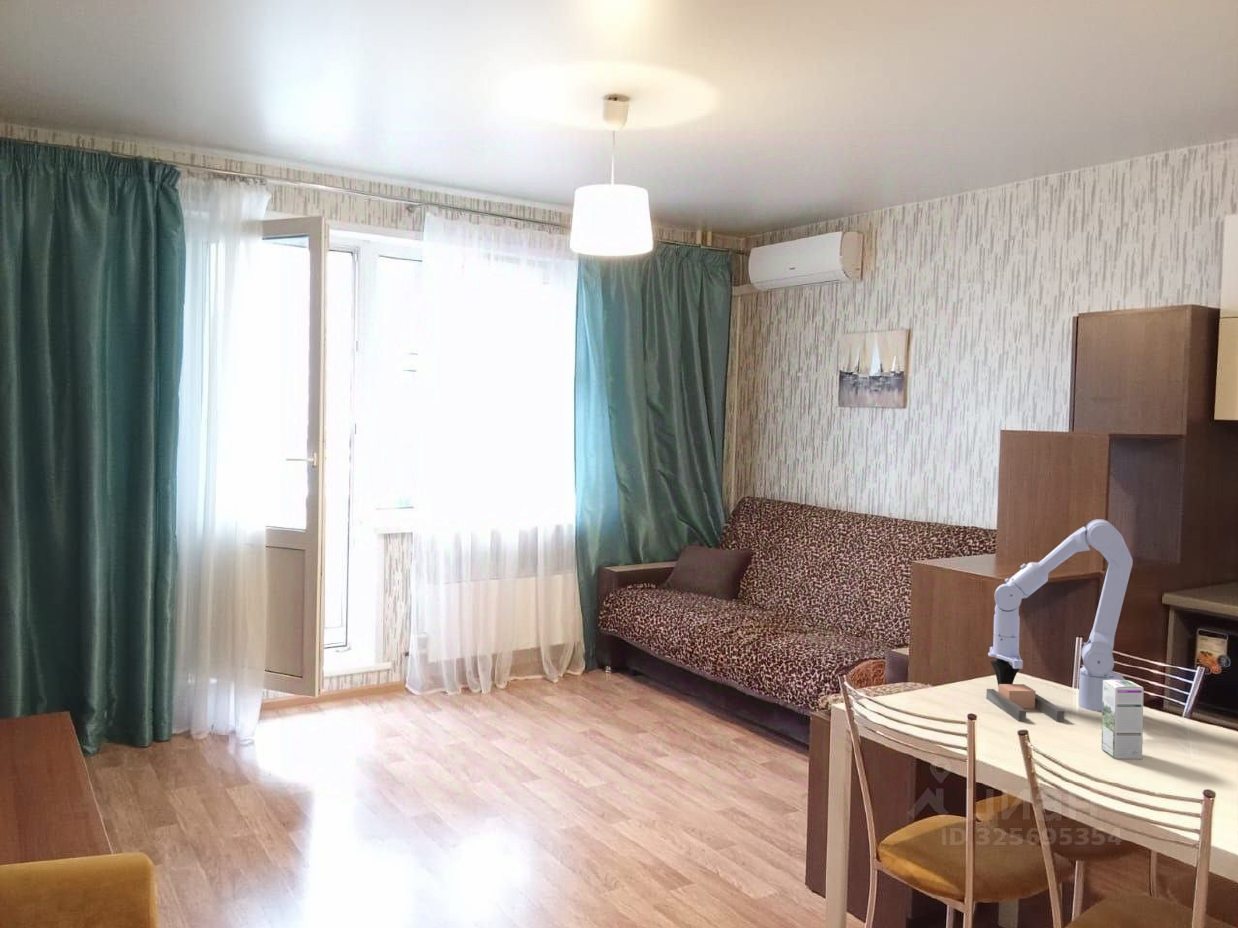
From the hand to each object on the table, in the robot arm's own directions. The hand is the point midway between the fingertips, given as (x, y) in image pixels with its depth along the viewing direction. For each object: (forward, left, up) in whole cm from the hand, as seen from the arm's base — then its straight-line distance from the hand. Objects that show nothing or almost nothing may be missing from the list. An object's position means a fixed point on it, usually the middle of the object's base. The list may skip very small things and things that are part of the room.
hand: (1004, 691), depth 234 cm
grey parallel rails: (0, +11, -2) cm, 11 cm away
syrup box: (-8, +38, -3) cm, 39 cm away
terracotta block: (0, +7, -1) cm, 7 cm away
